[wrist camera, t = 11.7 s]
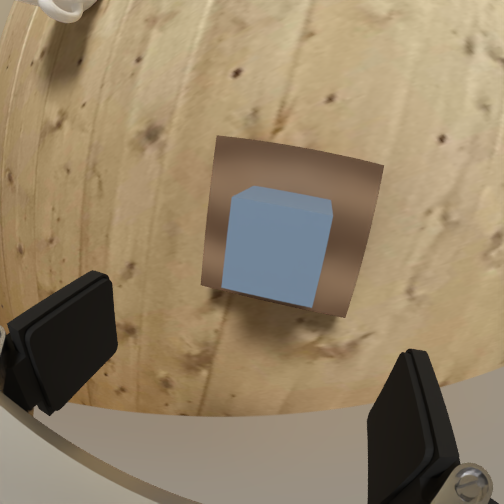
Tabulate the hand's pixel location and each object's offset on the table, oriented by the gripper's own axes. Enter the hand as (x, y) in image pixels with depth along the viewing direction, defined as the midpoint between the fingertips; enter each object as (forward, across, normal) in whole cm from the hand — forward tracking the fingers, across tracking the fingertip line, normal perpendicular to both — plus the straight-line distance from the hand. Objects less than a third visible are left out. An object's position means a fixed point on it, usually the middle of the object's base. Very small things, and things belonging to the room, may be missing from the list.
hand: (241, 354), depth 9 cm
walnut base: (+20, +1, +1) cm, 20 cm away
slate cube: (+16, +1, +1) cm, 16 cm away
